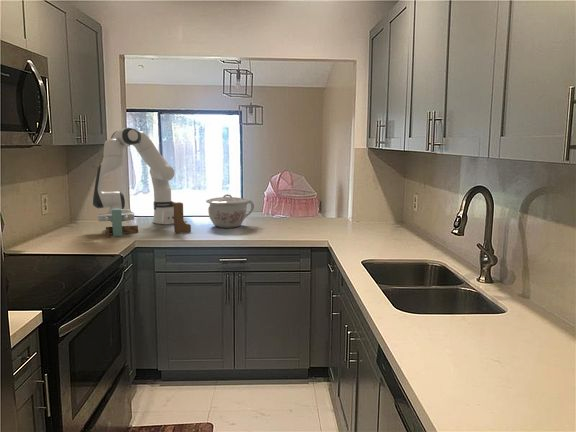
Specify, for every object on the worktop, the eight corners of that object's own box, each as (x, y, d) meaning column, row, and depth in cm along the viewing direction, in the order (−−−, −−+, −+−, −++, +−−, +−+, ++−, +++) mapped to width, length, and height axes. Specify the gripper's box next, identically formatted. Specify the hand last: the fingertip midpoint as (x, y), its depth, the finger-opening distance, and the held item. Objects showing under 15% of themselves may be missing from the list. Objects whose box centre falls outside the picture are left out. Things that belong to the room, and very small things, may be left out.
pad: (124, 233, 285) (124, 233, 285) (125, 236, 278) (125, 235, 278) (109, 234, 283) (109, 234, 282) (110, 237, 275) (110, 236, 275)
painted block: (121, 233, 284) (120, 208, 281) (122, 235, 279) (121, 209, 277) (112, 234, 282) (111, 208, 279) (113, 235, 277) (111, 210, 275)
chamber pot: (198, 228, 304) (198, 195, 301) (217, 221, 330) (216, 191, 327) (240, 231, 296) (239, 197, 293) (255, 224, 322) (255, 193, 319)
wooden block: (188, 230, 296) (187, 201, 293) (191, 232, 292) (190, 202, 289) (174, 232, 291) (173, 202, 288) (176, 233, 287) (175, 203, 285)
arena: (137, 231, 292) (137, 225, 291) (139, 235, 280) (139, 229, 279) (106, 233, 285) (105, 227, 284) (106, 237, 273) (106, 230, 272)
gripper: (96, 211, 286) (97, 214, 274) (133, 209, 294) (134, 212, 281) (97, 221, 287) (97, 225, 275) (133, 219, 295) (135, 223, 282)
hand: (116, 219), depth 278 cm, fingers open, 8 cm apart
